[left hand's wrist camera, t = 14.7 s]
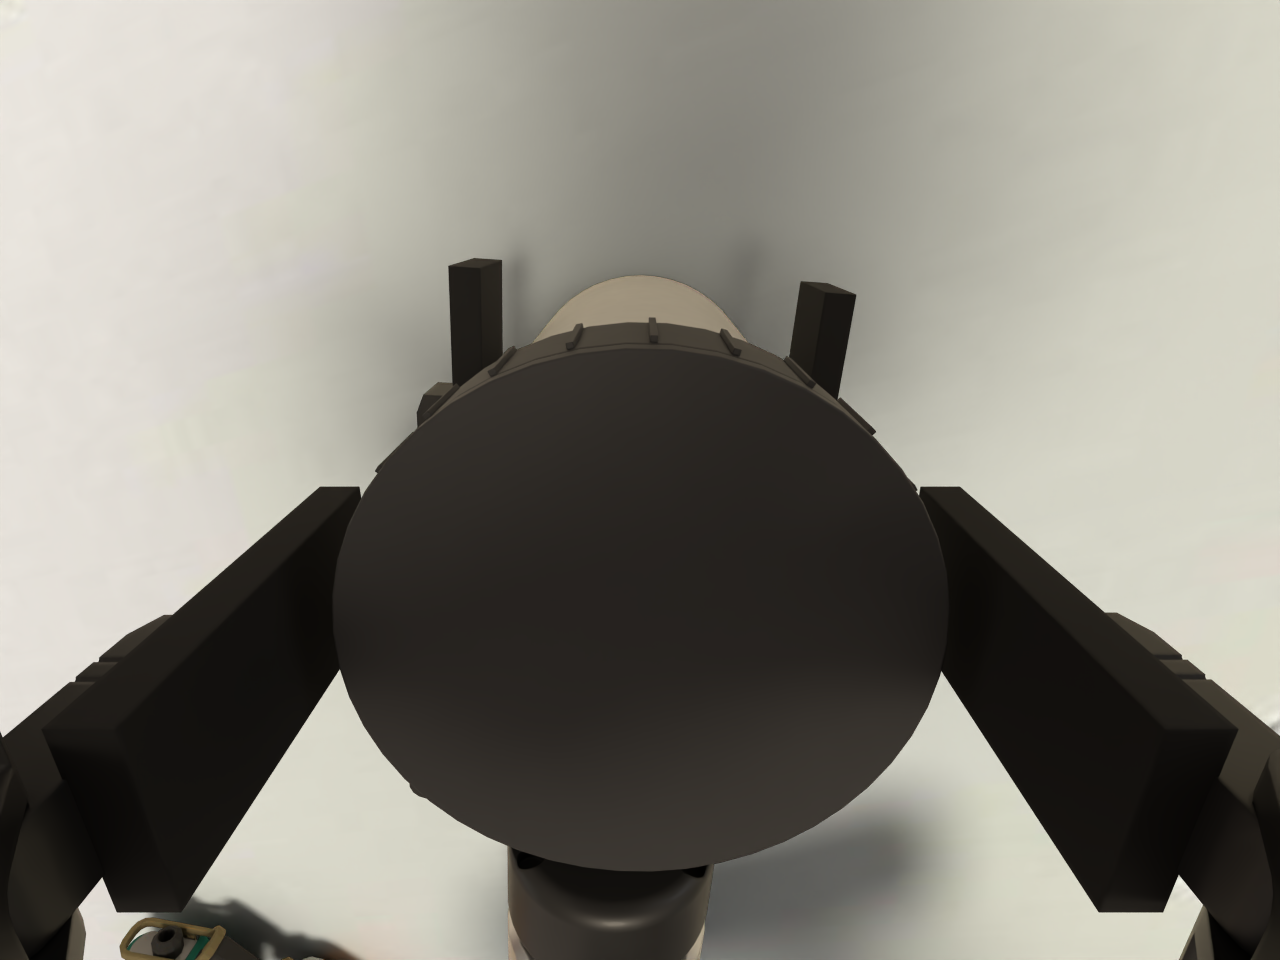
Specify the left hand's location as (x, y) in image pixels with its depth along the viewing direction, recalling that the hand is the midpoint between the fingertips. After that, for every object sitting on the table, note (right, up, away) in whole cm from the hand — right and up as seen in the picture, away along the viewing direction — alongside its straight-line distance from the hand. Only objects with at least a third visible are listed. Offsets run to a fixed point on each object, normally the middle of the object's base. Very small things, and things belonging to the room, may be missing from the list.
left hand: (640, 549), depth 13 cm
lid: (0, -1, -3) cm, 3 cm away
